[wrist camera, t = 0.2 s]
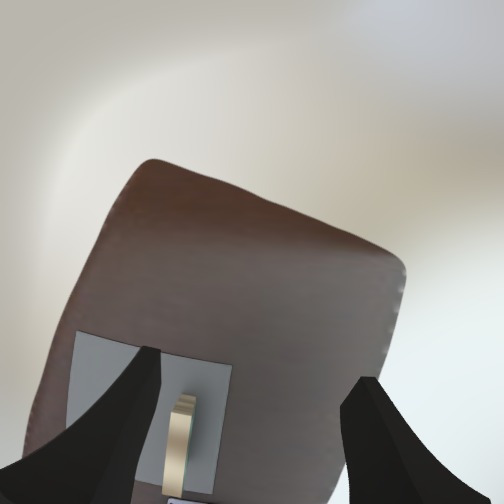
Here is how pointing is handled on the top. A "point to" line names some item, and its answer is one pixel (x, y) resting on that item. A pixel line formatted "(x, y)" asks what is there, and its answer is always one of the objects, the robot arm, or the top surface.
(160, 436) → the slate mat
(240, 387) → the top surface
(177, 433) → the teal framed tile
